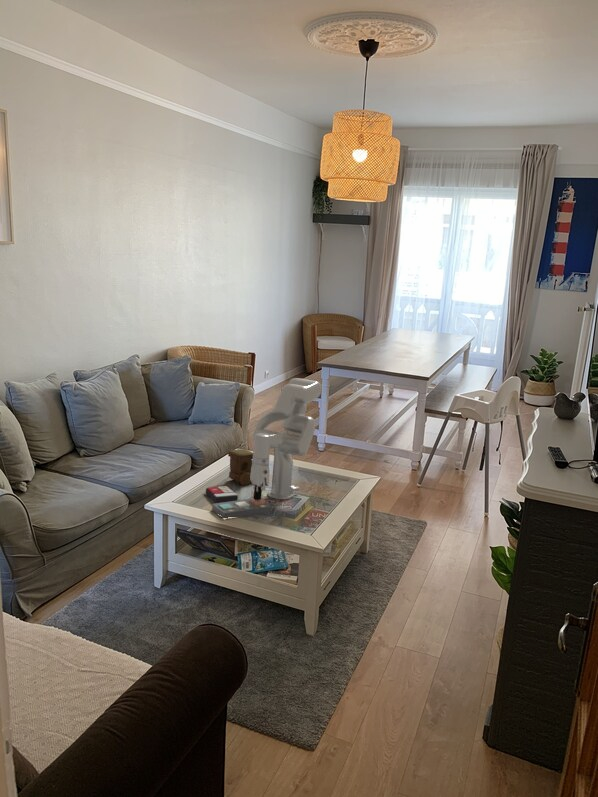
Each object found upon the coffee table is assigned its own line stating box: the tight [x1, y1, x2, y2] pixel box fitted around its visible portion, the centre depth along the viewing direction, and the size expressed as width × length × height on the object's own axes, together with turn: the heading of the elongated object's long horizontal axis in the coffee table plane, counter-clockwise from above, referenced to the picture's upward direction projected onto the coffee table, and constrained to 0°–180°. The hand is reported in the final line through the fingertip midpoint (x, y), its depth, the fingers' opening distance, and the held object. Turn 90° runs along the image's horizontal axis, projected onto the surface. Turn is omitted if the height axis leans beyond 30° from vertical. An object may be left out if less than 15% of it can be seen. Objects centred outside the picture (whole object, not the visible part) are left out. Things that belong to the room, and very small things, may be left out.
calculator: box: [205, 485, 239, 504], centre depth 295 cm, size 11×4×15 cm
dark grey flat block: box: [211, 498, 273, 519], centre depth 280 cm, size 24×12×3 cm, turn 123°
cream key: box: [235, 501, 250, 508], centre depth 280 cm, size 5×5×2 cm
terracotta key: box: [249, 497, 266, 506], centre depth 284 cm, size 5×5×2 cm
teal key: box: [219, 504, 234, 511], centre depth 276 cm, size 5×5×2 cm
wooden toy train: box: [227, 448, 253, 486], centre depth 321 cm, size 20×11×17 cm, turn 130°
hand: (257, 499), depth 283 cm, fingers closed
